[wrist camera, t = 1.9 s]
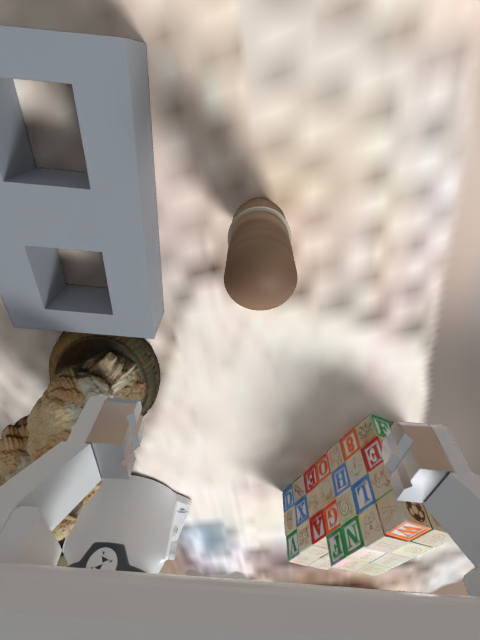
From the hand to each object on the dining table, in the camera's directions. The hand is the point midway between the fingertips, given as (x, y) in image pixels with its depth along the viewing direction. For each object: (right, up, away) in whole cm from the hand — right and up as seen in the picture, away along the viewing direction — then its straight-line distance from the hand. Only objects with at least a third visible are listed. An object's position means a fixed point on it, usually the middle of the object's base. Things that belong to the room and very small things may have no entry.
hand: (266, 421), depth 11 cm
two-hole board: (-13, +13, +15) cm, 24 cm away
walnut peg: (+1, +11, +16) cm, 19 cm away
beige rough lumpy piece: (-16, -3, +27) cm, 32 cm away
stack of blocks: (+13, -16, +36) cm, 41 cm away
